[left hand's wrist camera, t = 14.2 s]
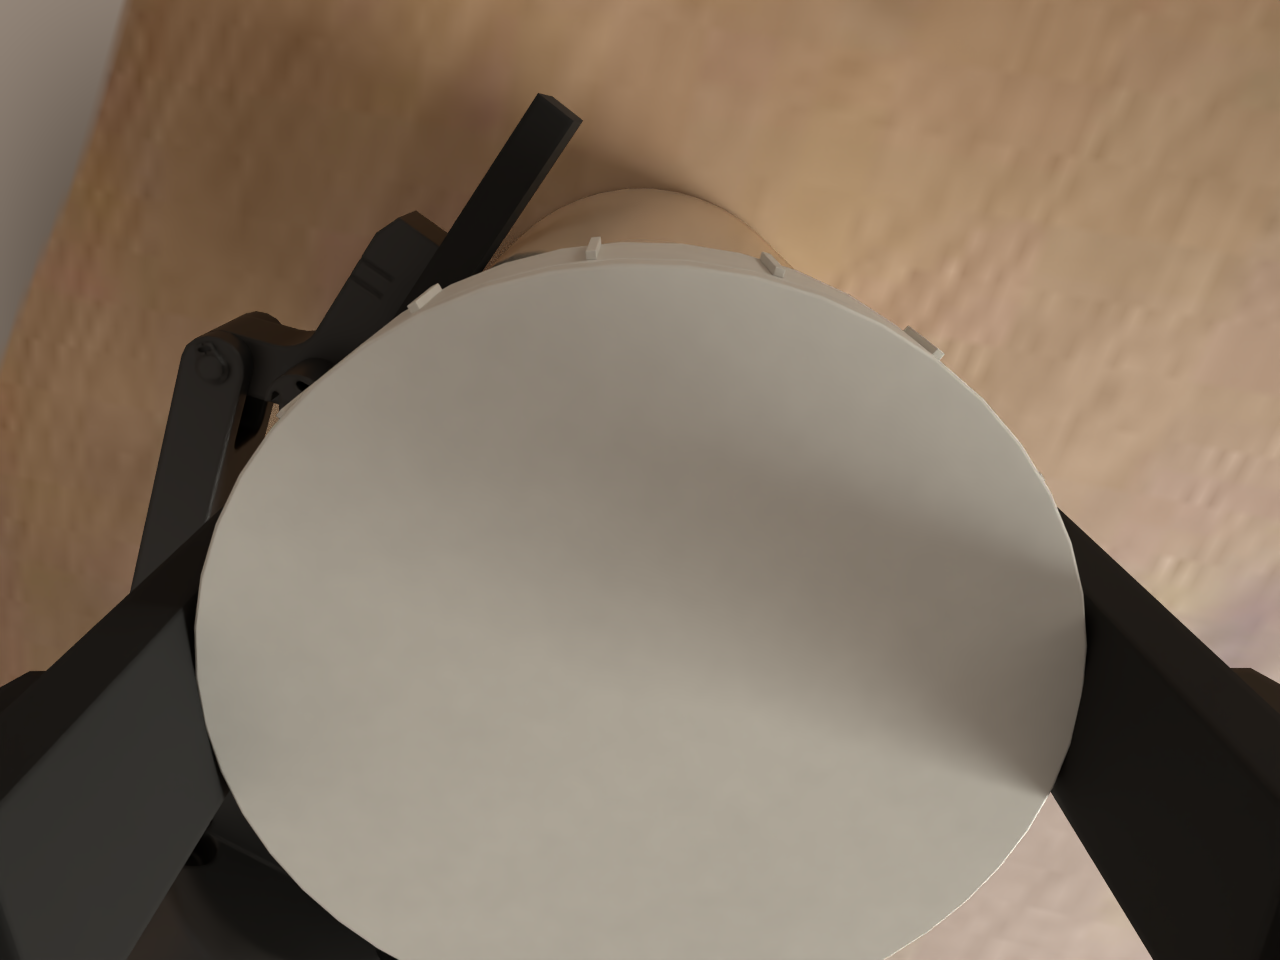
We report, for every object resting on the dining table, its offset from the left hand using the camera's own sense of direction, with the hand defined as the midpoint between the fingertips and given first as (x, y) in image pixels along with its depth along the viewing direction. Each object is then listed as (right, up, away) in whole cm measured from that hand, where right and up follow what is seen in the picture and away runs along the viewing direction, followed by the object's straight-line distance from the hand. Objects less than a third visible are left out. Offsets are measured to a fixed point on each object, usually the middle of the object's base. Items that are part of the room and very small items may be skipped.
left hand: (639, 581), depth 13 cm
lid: (0, -1, -3) cm, 3 cm away
